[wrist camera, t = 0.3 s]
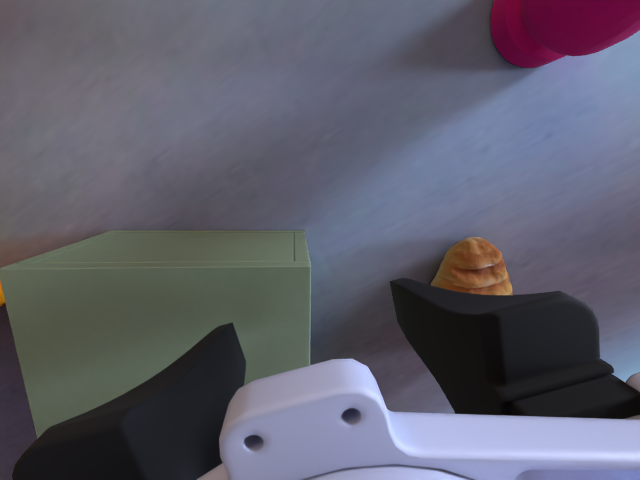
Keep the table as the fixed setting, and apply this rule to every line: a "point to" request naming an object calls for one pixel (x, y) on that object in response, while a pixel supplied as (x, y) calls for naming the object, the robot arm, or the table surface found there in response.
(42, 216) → the table surface
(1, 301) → the orange juice
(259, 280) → the cabinet
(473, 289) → the pastry
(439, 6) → the table surface
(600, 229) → the table surface
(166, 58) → the table surface
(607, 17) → the pepper mill
